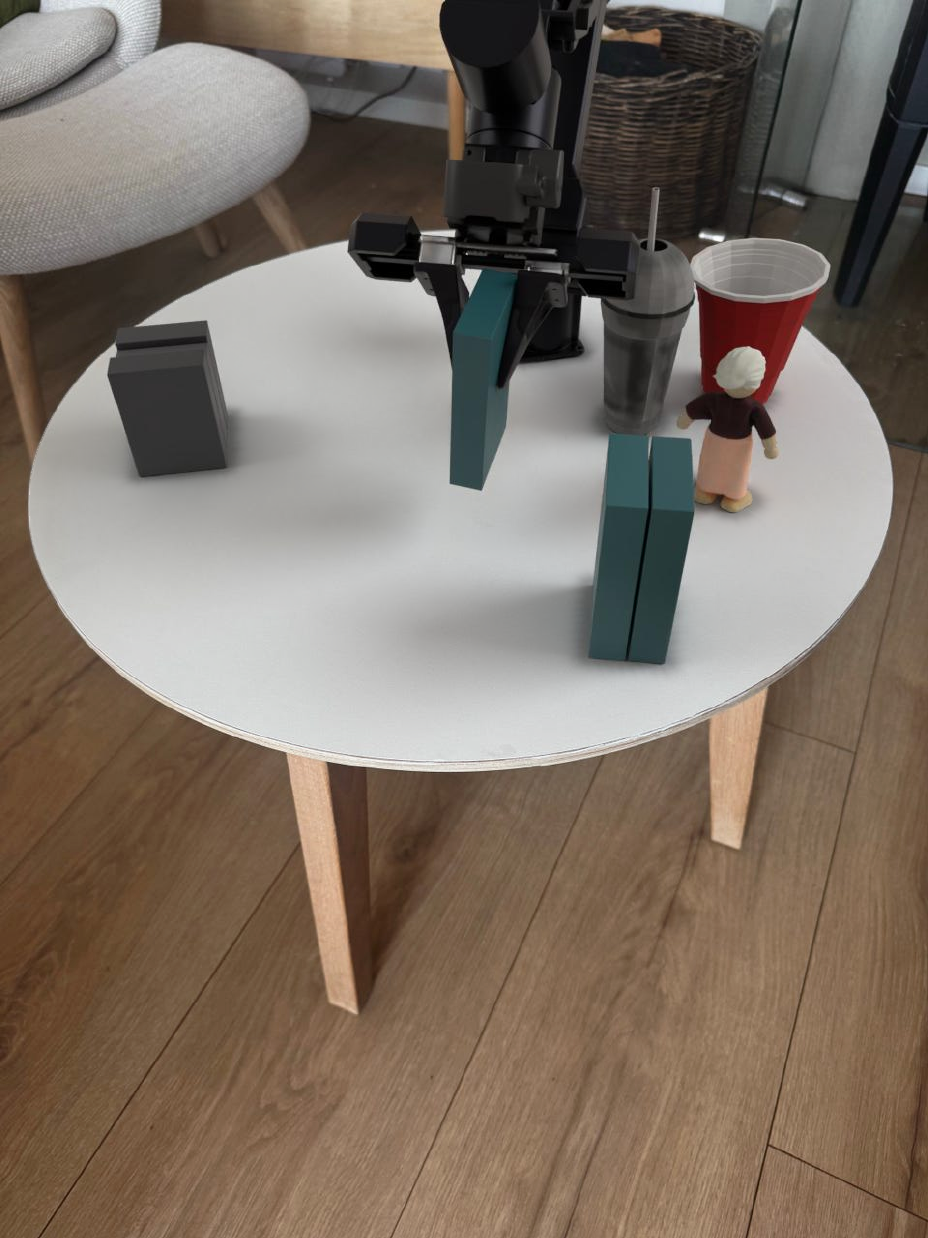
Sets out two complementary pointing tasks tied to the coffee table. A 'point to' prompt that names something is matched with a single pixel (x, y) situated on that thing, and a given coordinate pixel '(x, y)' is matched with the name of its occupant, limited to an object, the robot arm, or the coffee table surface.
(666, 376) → the beverage cup
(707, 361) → the plastic cup
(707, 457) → the grandmother figurine
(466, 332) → the teal book
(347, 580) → the coffee table surface
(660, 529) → the teal books
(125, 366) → the grey books
